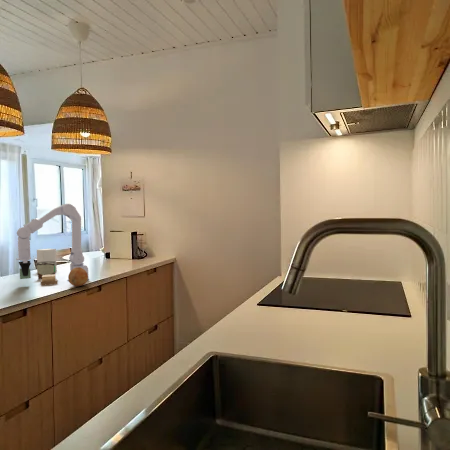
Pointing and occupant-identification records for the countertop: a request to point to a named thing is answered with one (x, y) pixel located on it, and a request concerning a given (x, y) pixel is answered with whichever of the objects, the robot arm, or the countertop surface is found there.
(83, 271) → the onion
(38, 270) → the food container
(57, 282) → the walnut slab
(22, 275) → the green cube
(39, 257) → the supplement box
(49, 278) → the oak slab
